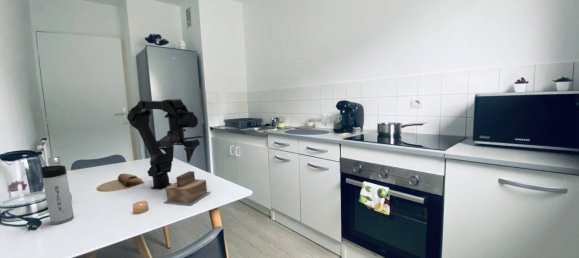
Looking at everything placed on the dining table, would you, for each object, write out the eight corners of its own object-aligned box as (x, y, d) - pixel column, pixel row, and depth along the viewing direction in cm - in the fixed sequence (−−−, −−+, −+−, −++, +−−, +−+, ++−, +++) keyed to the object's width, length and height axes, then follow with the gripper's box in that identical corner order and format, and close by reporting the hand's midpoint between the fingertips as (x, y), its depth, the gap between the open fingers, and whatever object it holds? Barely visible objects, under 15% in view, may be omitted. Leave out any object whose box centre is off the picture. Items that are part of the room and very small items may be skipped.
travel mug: (59, 217, 94) (50, 164, 91) (78, 215, 94) (69, 163, 92) (44, 225, 88) (34, 169, 85) (65, 223, 88) (55, 167, 86)
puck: (130, 213, 94) (129, 205, 94) (141, 207, 99) (140, 200, 98) (140, 214, 93) (139, 206, 92) (151, 208, 97) (150, 201, 97)
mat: (163, 203, 102) (163, 202, 102) (185, 191, 114) (185, 190, 114) (191, 205, 98) (191, 204, 98) (210, 192, 110) (210, 192, 110)
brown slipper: (145, 182, 129) (136, 173, 126) (133, 193, 125) (123, 183, 122) (135, 176, 141) (127, 167, 138) (123, 185, 138) (114, 177, 134)
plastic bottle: (76, 202, 107) (69, 156, 105) (57, 209, 101) (49, 160, 98) (66, 201, 109) (58, 155, 107) (47, 208, 103) (38, 159, 100)
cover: (167, 201, 102) (164, 177, 101) (185, 191, 113) (183, 169, 112) (190, 203, 99) (187, 179, 98) (207, 192, 110) (204, 170, 108)
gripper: (144, 130, 108) (149, 166, 110) (181, 130, 102) (185, 167, 104) (164, 127, 118) (168, 159, 120) (198, 126, 113) (202, 160, 115)
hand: (180, 162), depth 115 cm, fingers open, 9 cm apart
